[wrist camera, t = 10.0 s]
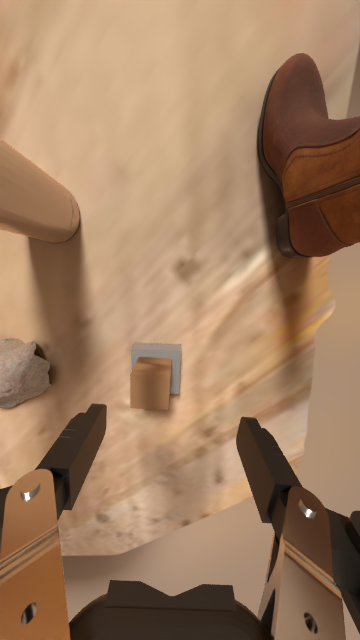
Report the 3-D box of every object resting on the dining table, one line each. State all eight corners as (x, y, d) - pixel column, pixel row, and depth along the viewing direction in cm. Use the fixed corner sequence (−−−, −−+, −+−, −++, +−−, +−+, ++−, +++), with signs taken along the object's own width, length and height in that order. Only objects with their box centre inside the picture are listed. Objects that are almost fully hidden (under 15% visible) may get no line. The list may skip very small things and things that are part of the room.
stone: (-8, 335, 39) (24, 392, 44) (-67, 356, 32) (-21, 422, 36) (39, 330, 34) (70, 395, 38) (-19, 354, 26) (28, 432, 31)
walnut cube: (138, 385, 35) (130, 408, 29) (139, 356, 33) (130, 374, 27) (170, 387, 35) (168, 409, 29) (171, 358, 33) (170, 376, 28)
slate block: (136, 381, 38) (132, 392, 35) (135, 341, 36) (131, 348, 33) (179, 383, 39) (179, 393, 35) (180, 343, 36) (180, 350, 33)
